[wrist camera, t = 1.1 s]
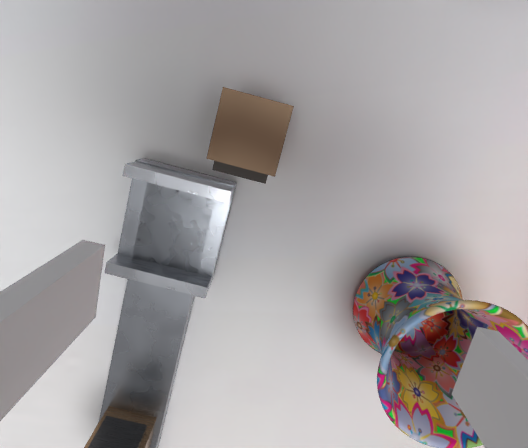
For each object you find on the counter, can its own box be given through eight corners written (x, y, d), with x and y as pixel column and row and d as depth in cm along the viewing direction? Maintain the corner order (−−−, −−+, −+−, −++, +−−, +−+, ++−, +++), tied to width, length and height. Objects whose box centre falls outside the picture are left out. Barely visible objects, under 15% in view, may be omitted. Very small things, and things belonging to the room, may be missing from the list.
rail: (144, 158, 32) (88, 171, 22) (236, 182, 32) (221, 205, 22) (87, 444, 38) (23, 555, 28) (166, 463, 38) (130, 579, 28)
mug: (324, 287, 34) (347, 357, 24) (427, 226, 33) (499, 270, 22) (398, 399, 36) (449, 508, 26) (497, 345, 35) (593, 436, 25)
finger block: (235, 97, 31) (222, 87, 23) (288, 111, 31) (293, 106, 23) (220, 159, 32) (204, 168, 24) (271, 172, 32) (272, 186, 24)
